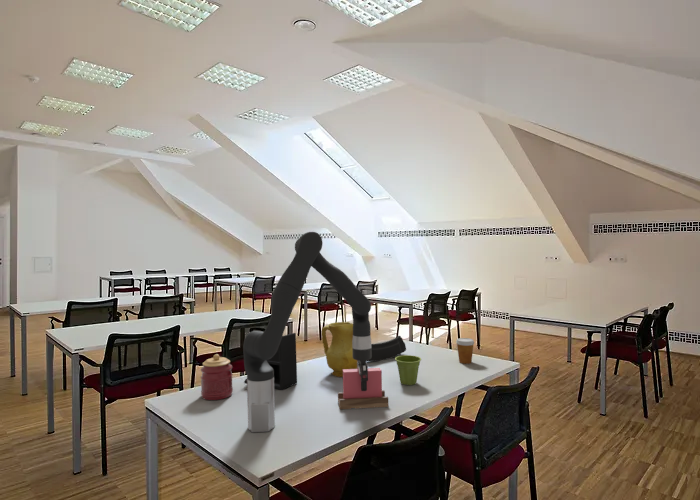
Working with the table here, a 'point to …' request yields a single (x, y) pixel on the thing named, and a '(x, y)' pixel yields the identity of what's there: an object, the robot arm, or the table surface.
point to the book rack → (362, 402)
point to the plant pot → (408, 368)
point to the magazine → (387, 349)
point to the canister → (216, 378)
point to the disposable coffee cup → (465, 350)
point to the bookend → (284, 363)
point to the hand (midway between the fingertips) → (362, 387)
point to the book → (354, 384)
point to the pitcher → (339, 347)
